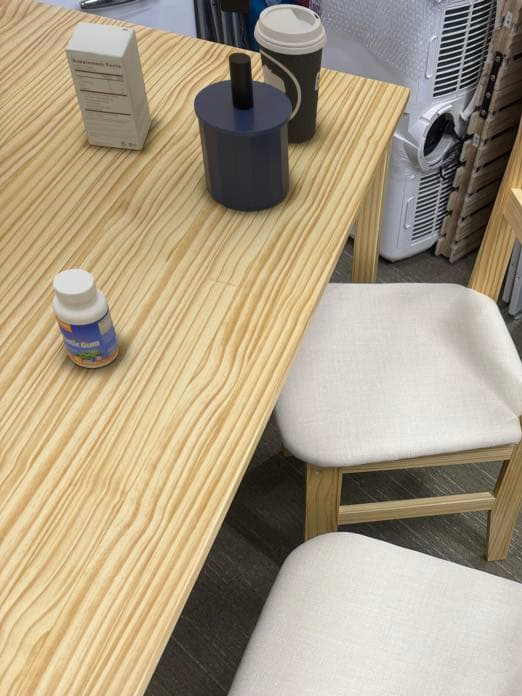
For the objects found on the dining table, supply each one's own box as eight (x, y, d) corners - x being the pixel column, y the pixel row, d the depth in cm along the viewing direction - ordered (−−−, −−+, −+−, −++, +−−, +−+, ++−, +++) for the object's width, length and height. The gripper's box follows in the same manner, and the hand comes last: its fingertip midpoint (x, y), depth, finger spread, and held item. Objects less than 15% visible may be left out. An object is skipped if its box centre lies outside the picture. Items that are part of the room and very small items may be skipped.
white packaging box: (100, 116, 111) (78, 19, 101) (153, 122, 112) (136, 26, 101) (87, 145, 107) (62, 48, 97) (141, 151, 108) (123, 55, 97)
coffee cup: (323, 152, 112) (325, 40, 99) (256, 146, 111) (249, 32, 98) (327, 116, 117) (328, 5, 104) (262, 110, 116) (256, -3, 104)
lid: (191, 138, 94) (183, 81, 88) (198, 85, 100) (191, 29, 94) (292, 143, 95) (290, 87, 89) (292, 91, 101) (290, 36, 96)
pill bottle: (61, 364, 85) (34, 293, 77) (80, 331, 88) (56, 259, 80) (109, 373, 85) (88, 303, 77) (127, 340, 88) (108, 269, 80)
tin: (204, 209, 102) (194, 131, 93) (209, 161, 108) (200, 83, 99) (289, 213, 104) (287, 136, 95) (289, 164, 109) (287, 88, 101)
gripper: (182, -239, 76) (205, -24, 91) (170, -186, 68) (197, 40, 83) (261, -231, 77) (270, -19, 92) (257, -178, 69) (268, 44, 84)
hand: (235, 8), depth 88 cm, fingers closed
